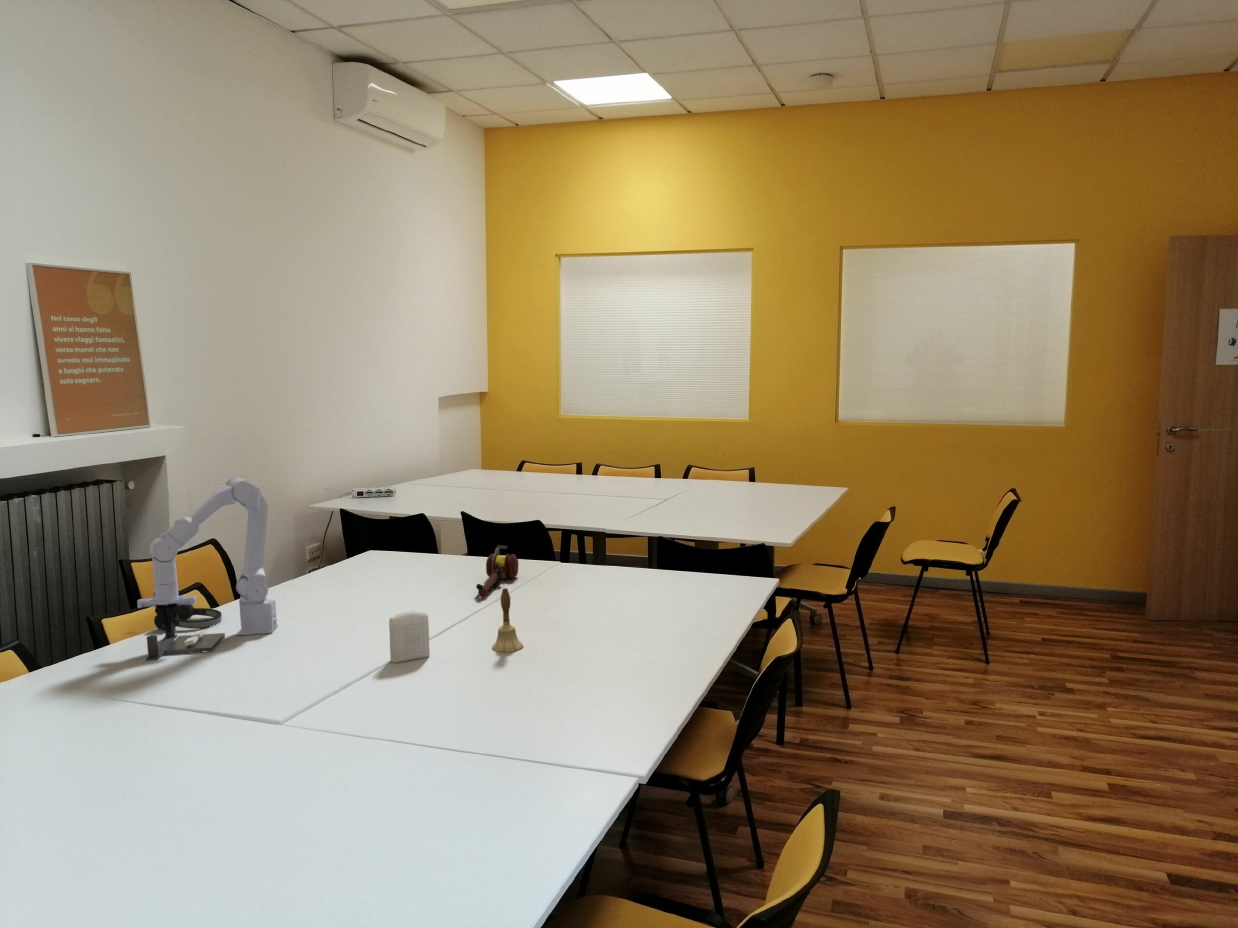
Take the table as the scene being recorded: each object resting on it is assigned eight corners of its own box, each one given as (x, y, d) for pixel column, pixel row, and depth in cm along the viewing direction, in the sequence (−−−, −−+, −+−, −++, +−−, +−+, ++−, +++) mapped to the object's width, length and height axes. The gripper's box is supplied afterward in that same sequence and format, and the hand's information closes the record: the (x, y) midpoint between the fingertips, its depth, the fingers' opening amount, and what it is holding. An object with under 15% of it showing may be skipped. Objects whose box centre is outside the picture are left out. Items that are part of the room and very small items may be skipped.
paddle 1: (198, 639, 250) (197, 635, 250) (194, 643, 247) (193, 639, 246) (189, 641, 250) (188, 638, 250) (185, 645, 246) (184, 642, 246)
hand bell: (485, 649, 243) (483, 590, 241) (503, 640, 251) (501, 583, 249) (511, 654, 239) (509, 594, 238) (529, 644, 247) (527, 586, 245)
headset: (163, 585, 278) (229, 591, 278) (162, 616, 279) (228, 622, 279) (140, 597, 265) (210, 603, 265) (139, 629, 266) (209, 635, 266)
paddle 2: (204, 632, 256) (203, 629, 256) (200, 636, 252) (199, 633, 252) (195, 635, 256) (194, 631, 256) (191, 639, 252) (190, 635, 252)
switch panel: (224, 637, 259) (224, 632, 258) (211, 651, 246) (211, 647, 246) (179, 639, 257) (179, 635, 257) (164, 654, 244) (163, 650, 244)
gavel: (497, 607, 294) (467, 606, 295) (521, 572, 328) (493, 572, 329) (496, 576, 292) (465, 576, 293) (519, 545, 326) (492, 545, 327)
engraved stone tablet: (426, 652, 242) (424, 606, 241) (432, 656, 238) (430, 610, 237) (388, 660, 236) (385, 613, 235) (393, 664, 233) (391, 617, 231)
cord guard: (177, 636, 261) (175, 615, 260) (158, 660, 240) (156, 637, 240) (166, 637, 260) (164, 616, 259) (145, 661, 240) (144, 638, 239)
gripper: (131, 587, 243) (135, 637, 245) (189, 584, 245) (193, 634, 247) (141, 581, 250) (145, 629, 252) (197, 578, 252) (201, 626, 254)
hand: (169, 631), depth 250 cm, fingers closed
